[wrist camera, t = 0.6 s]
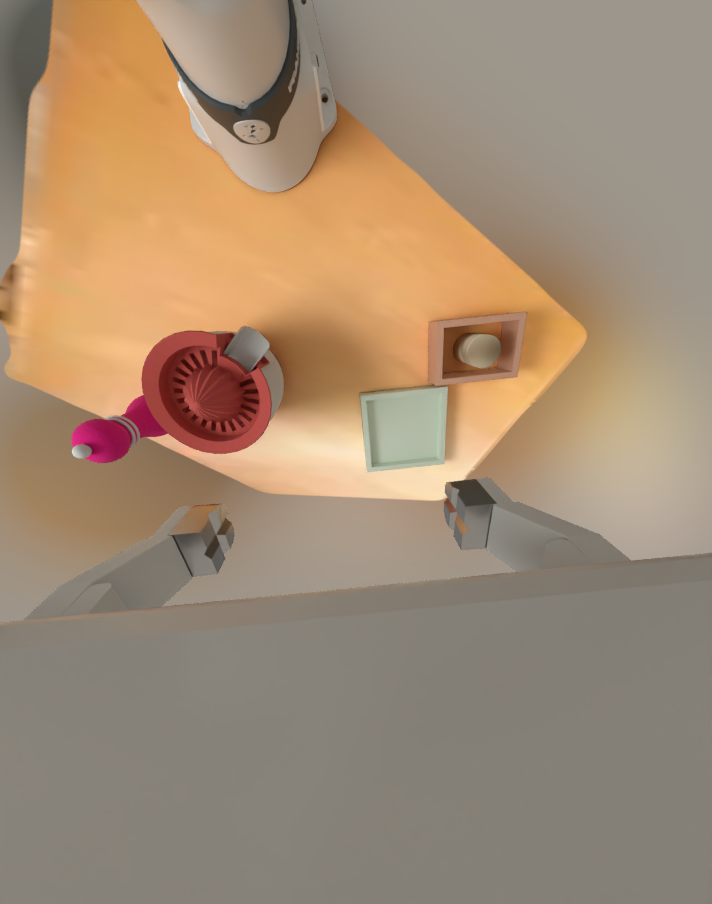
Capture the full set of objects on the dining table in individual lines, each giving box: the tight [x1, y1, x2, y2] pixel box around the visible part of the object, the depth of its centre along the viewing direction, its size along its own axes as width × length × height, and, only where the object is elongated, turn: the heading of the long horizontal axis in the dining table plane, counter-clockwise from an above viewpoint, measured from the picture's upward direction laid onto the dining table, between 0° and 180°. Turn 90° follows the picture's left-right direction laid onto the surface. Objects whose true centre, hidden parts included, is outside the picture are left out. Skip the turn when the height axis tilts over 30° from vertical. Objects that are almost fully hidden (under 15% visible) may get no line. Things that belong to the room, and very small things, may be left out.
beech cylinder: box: [453, 333, 501, 368], centre depth 46 cm, size 5×5×7 cm
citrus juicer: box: [142, 326, 284, 454], centre depth 40 cm, size 16×17×20 cm
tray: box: [360, 385, 448, 472], centre depth 54 cm, size 16×16×2 cm
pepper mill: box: [72, 395, 168, 463], centre depth 43 cm, size 7×7×20 cm
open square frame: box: [428, 312, 527, 386], centre depth 47 cm, size 10×14×5 cm
